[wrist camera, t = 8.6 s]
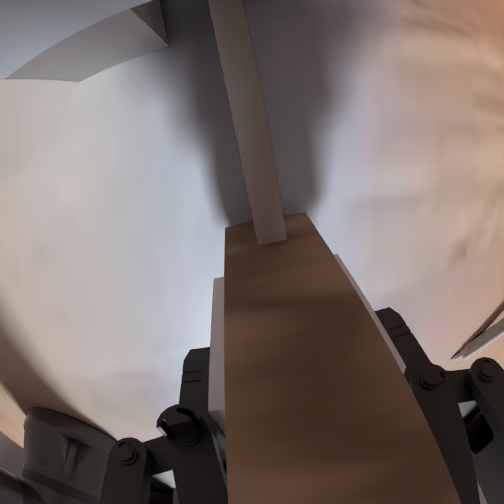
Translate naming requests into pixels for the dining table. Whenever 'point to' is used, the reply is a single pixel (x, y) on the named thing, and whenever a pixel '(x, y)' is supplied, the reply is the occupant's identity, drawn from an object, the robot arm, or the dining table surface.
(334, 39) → the dining table surface
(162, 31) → the cabinet
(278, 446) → the wooden mallet
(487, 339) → the caliper
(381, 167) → the dining table surface
